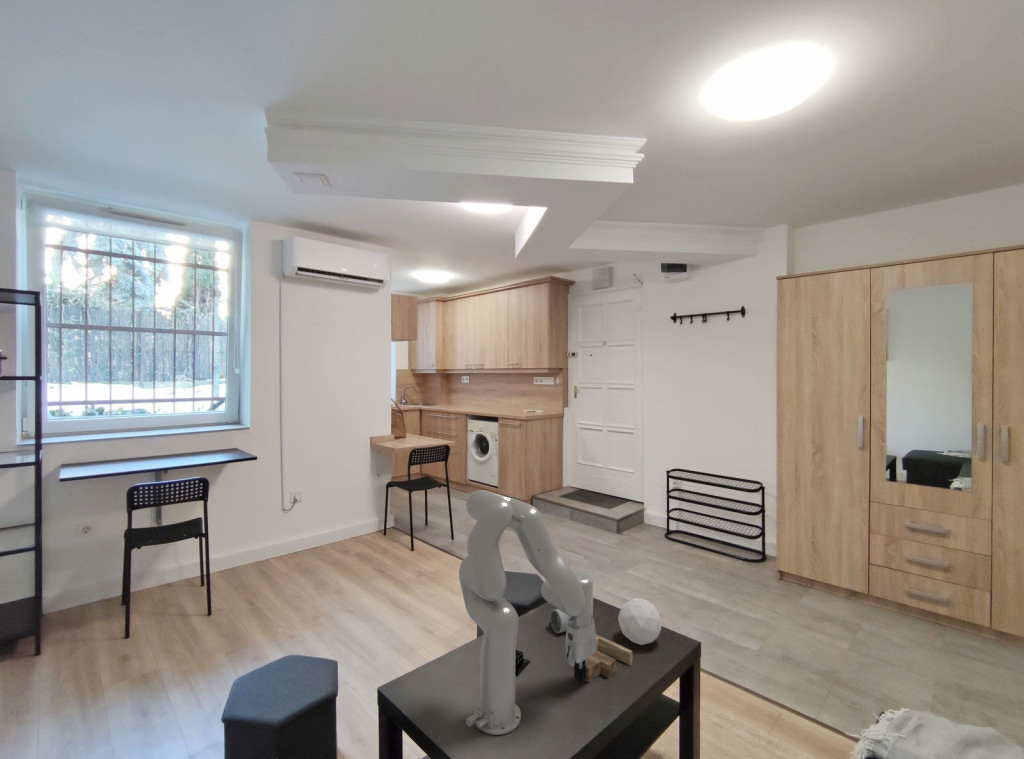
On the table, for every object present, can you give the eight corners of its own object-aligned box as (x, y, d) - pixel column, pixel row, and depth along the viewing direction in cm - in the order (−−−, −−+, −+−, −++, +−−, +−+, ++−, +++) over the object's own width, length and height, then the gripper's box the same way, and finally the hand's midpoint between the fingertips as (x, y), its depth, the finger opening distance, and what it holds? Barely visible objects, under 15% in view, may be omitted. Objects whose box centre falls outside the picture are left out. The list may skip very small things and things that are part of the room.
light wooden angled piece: (609, 682, 141) (609, 669, 141) (566, 660, 153) (567, 647, 153) (632, 663, 151) (632, 650, 151) (591, 643, 162) (591, 632, 162)
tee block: (597, 687, 139) (597, 674, 139) (570, 672, 146) (570, 659, 146) (616, 672, 146) (616, 659, 146) (589, 659, 153) (589, 646, 153)
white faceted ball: (651, 657, 163) (677, 632, 157) (616, 649, 158) (641, 623, 153) (637, 618, 175) (661, 594, 170) (605, 610, 171) (628, 585, 165)
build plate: (517, 682, 142) (517, 667, 142) (496, 675, 146) (496, 660, 146) (535, 660, 153) (535, 646, 153) (515, 654, 157) (515, 640, 157)
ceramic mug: (579, 631, 170) (579, 610, 170) (561, 637, 166) (561, 615, 166) (563, 618, 179) (563, 598, 179) (545, 623, 176) (545, 603, 176)
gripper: (575, 631, 133) (574, 696, 133) (604, 613, 144) (604, 673, 144) (554, 621, 138) (554, 684, 138) (584, 604, 149) (584, 662, 149)
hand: (580, 678), depth 141 cm, fingers closed
